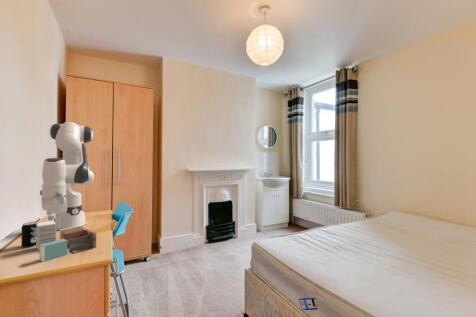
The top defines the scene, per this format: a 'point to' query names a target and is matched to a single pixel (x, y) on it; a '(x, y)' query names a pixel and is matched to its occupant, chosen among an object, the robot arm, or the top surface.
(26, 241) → the beverage can
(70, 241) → the book stack with bookend
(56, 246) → the boxed book
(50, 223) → the supplement box
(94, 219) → the top surface
